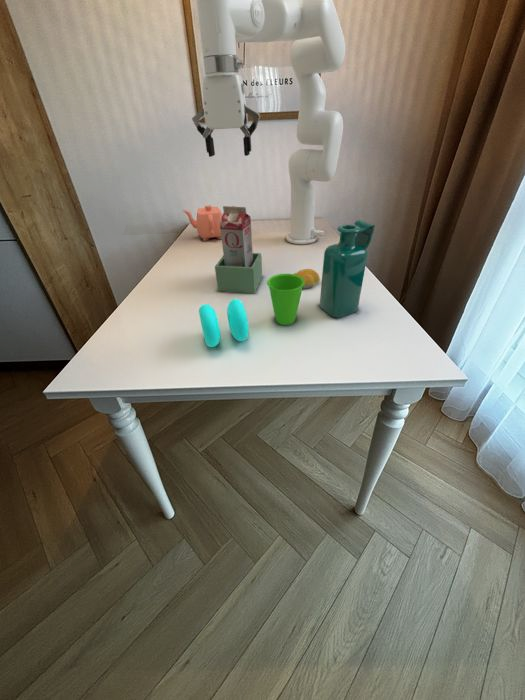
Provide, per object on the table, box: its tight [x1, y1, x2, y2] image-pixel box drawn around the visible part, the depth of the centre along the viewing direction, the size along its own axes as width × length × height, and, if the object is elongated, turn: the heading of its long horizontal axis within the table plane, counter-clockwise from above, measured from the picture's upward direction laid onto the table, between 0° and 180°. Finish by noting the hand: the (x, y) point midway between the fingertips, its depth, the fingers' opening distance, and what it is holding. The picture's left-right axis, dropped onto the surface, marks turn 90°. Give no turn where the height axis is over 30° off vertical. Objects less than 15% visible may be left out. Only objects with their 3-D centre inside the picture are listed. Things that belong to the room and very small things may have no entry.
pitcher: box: [319, 219, 376, 319], centre depth 78 cm, size 10×8×22 cm
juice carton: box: [220, 205, 254, 267], centre depth 91 cm, size 7×7×22 cm
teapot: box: [181, 204, 236, 242], centre depth 132 cm, size 15×17×13 cm
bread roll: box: [293, 268, 321, 289], centre depth 97 cm, size 8×9×4 cm
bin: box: [214, 252, 263, 294], centre depth 96 cm, size 12×12×8 cm
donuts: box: [198, 298, 250, 348], centre depth 72 cm, size 10×10×10 cm
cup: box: [266, 273, 305, 326], centre depth 78 cm, size 9×9×11 cm
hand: (229, 155), depth 82 cm, fingers open, 9 cm apart
